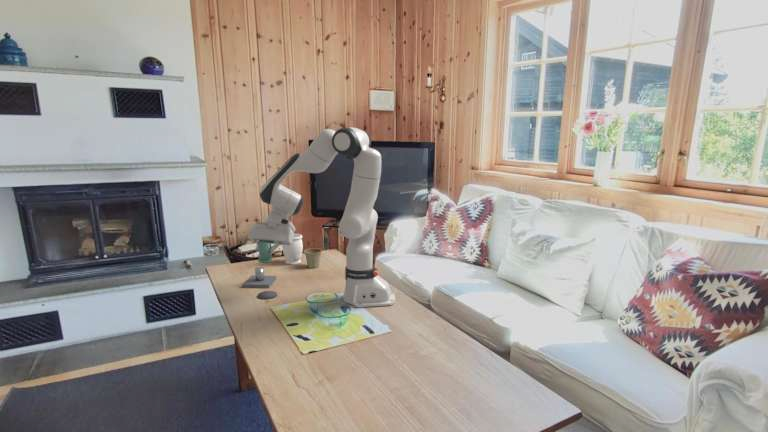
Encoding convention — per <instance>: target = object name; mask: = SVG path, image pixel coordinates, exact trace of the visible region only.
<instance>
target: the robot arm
mask: <svg viewBox="0 0 768 432" xmlns="http://www.w3.org/2000/svg"><path fill="white" fill-rule="evenodd" d="M371 146H372V138H371V135H370V134H369V133H368V132H367V131H366V130H364V129H363V128H359V127H358V128H357V127H353V126H352V127H351V126H350V127H341V128H339V129H338V130H336V131H335V130H334V129H331V128H325V129H323V130H321V131H320V133H319V134H317V135H316V136H315V138H314V139H313V141H312V142H311V143H310V145H309V146H308V148H306V149H305V151H302V152H301V153H295V154H293V155H291V156H290V157H289V158H288V160H287V161H285V163H284V164H282V166H281V167H280V168H279V169H278V170H277V171H276V172H275V173H274V174H273V176H271V177H270V178H269V179H268V180H267V181H266V182H265V183H264V184H263V185H262V186H261V188H260V190H259V197H260V200H261V201H262V202H263V203H265V204H268V205H271V210H270V212H269V213H268V215H267V217H266V220H265V221H264V222H261V221H257V222H255V223H254V224H253V225H252V227H251V228H250V229H249V231H248V234H247V238H248V240H249V241H250V242H252V243H253V242H255V243H256V247H255V251H256V252H259V242H263V241H269V242H271V247H270V249H269V252H271V254H272V253H275V250H276V249H278V247H280V245H282V246H283V245H290V244H292V241H293V238H294V234H295V232H296V227H295V225H294V224H293V222H292V221H291V220H290V218H289V217H293V216H295V215H299V213H300V212H301V210H302V206H303V204H304V199H303V196H302V195H301V194H299V193H298V192H296V191H294V190H292V189H290V188H288V187H286V186H284V185H282V183H283V182H284V181H285V180H286V179H287V177H288V176H289V175H290V174H292V173H293V172H303V173H309V174H320V173H323V172H325V171H326V170H327V169H328V167H329V166H330V165H331V164H332V163H333V161H334V159H335V158H336V156H337V155H338V154H339V155H341V156H343V157H345V158H346V159H349V160H353V164H354V165H353V166H354V167H353V171H352V172H353V173H352V178H351V186H350V191H349V196H348V197H347V202H346V205H345V208H344V211H343V215H342V217H341V219H340V221H339V225H338V229H339V231H340V232H339V233H341V235H342V236H343V237H345V238H346V239H348V243H347V246H346V250H345V251H346V253H345V254H346V256H345V257H346V258H345V259H346V260H345V261H346V264H345V270H344V275H345V276H344V278H345V286H344V292H343V295H342V300H343V301H344V302H345V303H346V304H349V305H352V306H354V308H366V307H367V308H368V307H388V306H393V304H395V302H396V294H395V293H394V292H393V291H392V290H391V288H390V285H389V282H388V281H387V280H385V279H383V278H382V277H381V276H379V271H378V268H377V266H374V264H373V258H374V257H373V256H374V255H373V254H374V253H373V251H374V243H375V237H376V231H377V224H378V219H379V215H378V212H377V211H376V210H375V209H374V206H375V203H376V200H377V199H378V194H379V186H380V182H381V177H382V176H381V175H382V154H381V153H380V152H379V150H377V149H374V148H371ZM272 245H273V246H272Z"/></svg>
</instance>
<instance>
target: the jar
mask: <svg viewBox="0 0 768 432" xmlns="http://www.w3.org/2000/svg"><path fill="white" fill-rule="evenodd" d="M302 239H303V235H302V234H300V233H294V238H293V241H292V244H290V245H282V250H283V256H284V259H285V261H284V262H285V264H286V265H294V266H295V265H298V264H301V263H302V260H301V258H302V256H303V252H304V250H303V249H304V248H303V247H304V246H303V240H302Z"/></svg>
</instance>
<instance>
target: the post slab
mask: <svg viewBox="0 0 768 432" xmlns="http://www.w3.org/2000/svg"><path fill="white" fill-rule="evenodd" d="M276 280H277V275H264V281H255V274H254V275H253V274H252V275H250V276H249V277H248V278H247V279H246V280H245V281H244V282H243V284H242V288H247V289H248V288H249V289H250V288H253V289H254V288H256V289H257V288H259V289H260V288H261V289H269V288H271V286H272V285H273V283H274V282H275V281H276Z"/></svg>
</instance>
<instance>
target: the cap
mask: <svg viewBox="0 0 768 432" xmlns="http://www.w3.org/2000/svg"><path fill="white" fill-rule="evenodd" d="M270 247H272V244H271V242H269V241H263V242H259V251H258V260H257V261H258V263H260V264H269V263H272V262H273V257H272V252H269V249H270Z"/></svg>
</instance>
